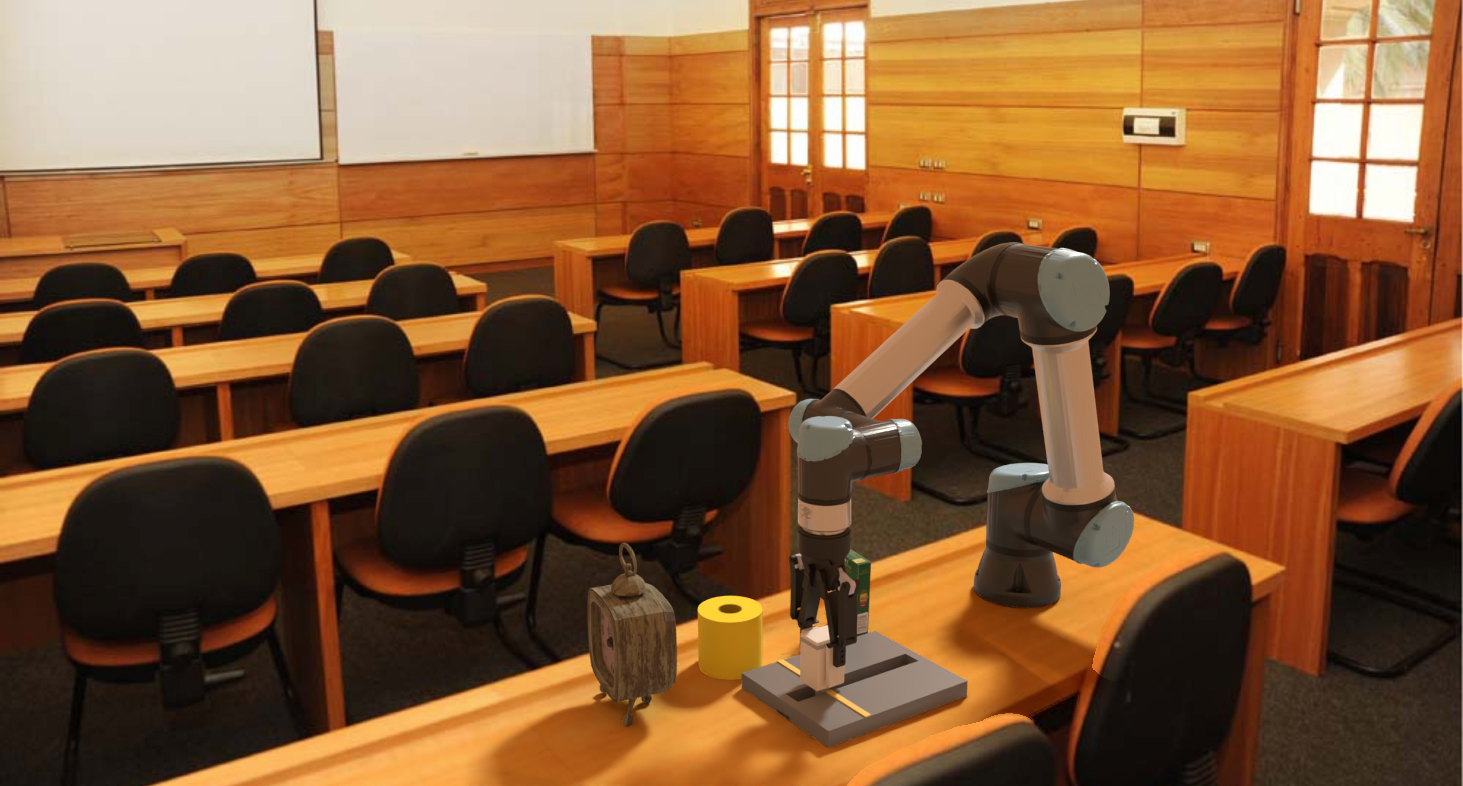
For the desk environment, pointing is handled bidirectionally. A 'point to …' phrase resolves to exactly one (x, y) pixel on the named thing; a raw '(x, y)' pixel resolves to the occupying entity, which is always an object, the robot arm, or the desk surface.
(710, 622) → the yellow toilet paper roll
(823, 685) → the fader knob
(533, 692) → the desk surface
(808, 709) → the fader console
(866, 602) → the coffee box
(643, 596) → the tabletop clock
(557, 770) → the desk surface
